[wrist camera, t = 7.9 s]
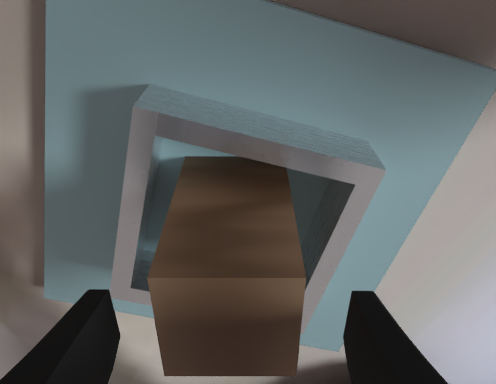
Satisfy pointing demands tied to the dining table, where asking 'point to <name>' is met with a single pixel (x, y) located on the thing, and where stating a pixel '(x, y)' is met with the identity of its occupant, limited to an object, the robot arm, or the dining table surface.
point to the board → (249, 97)
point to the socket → (248, 146)
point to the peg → (229, 272)
